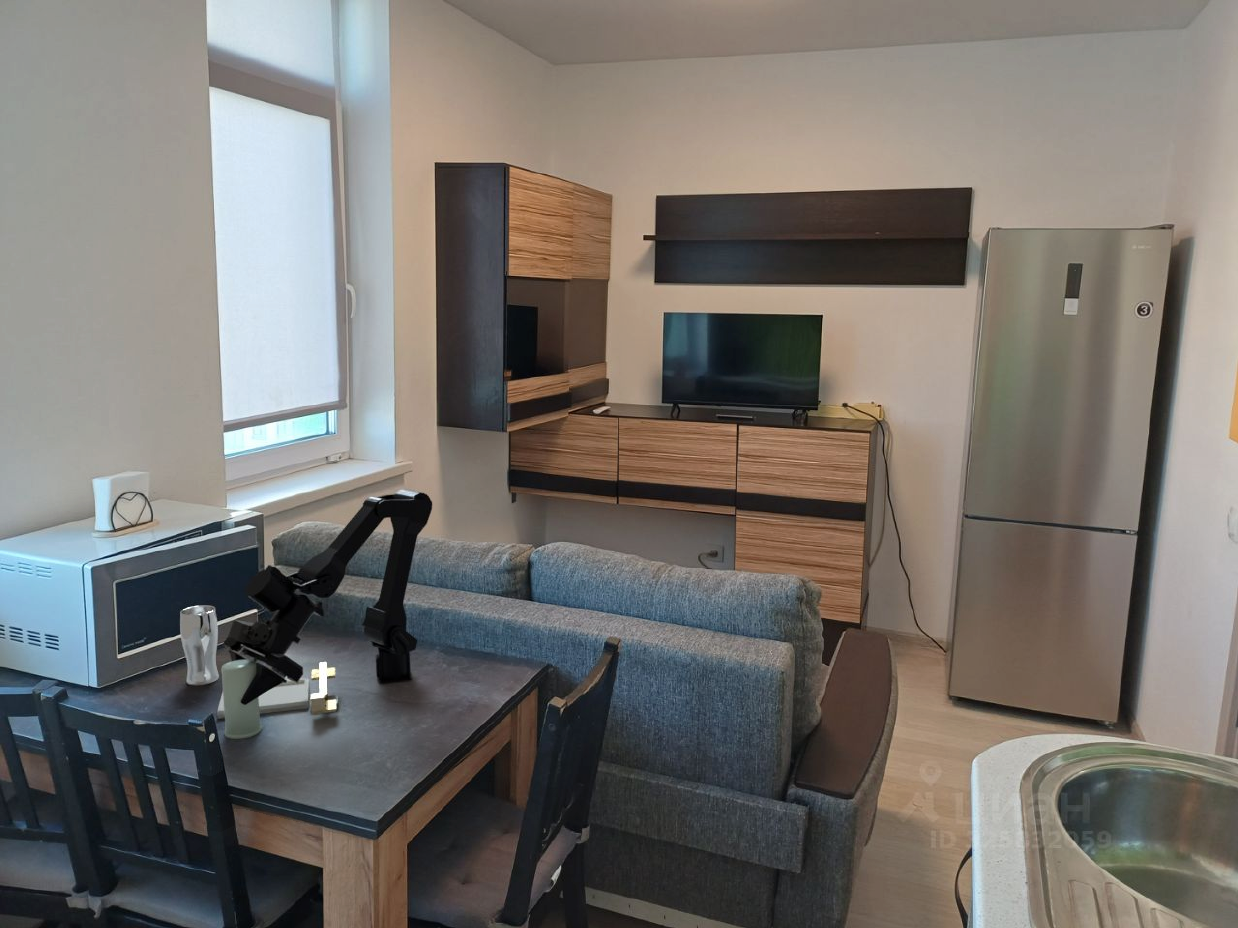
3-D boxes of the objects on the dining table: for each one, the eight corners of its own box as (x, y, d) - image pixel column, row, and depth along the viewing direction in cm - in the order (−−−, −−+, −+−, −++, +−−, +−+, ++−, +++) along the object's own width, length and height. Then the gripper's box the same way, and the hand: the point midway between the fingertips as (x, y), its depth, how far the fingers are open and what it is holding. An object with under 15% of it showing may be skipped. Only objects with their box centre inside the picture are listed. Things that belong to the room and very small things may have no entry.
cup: (262, 721, 169) (258, 657, 167) (260, 736, 163) (256, 669, 161) (226, 726, 167) (222, 661, 165) (223, 740, 161) (218, 673, 159)
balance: (337, 689, 184) (336, 656, 183) (338, 720, 170) (336, 685, 169) (311, 692, 182) (309, 659, 181) (310, 724, 168) (308, 689, 167)
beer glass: (207, 687, 185) (201, 616, 182) (176, 684, 186) (171, 614, 184) (228, 674, 191) (223, 605, 189) (198, 672, 193) (193, 603, 190)
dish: (309, 684, 186) (308, 677, 186) (308, 708, 175) (307, 700, 175) (224, 693, 182) (224, 686, 181) (217, 718, 170) (217, 711, 170)
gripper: (229, 592, 170) (174, 665, 164) (284, 612, 159) (227, 692, 152) (271, 621, 178) (220, 693, 171) (326, 643, 166) (273, 721, 159)
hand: (233, 699), depth 163 cm, fingers closed on cup, 6 cm apart
